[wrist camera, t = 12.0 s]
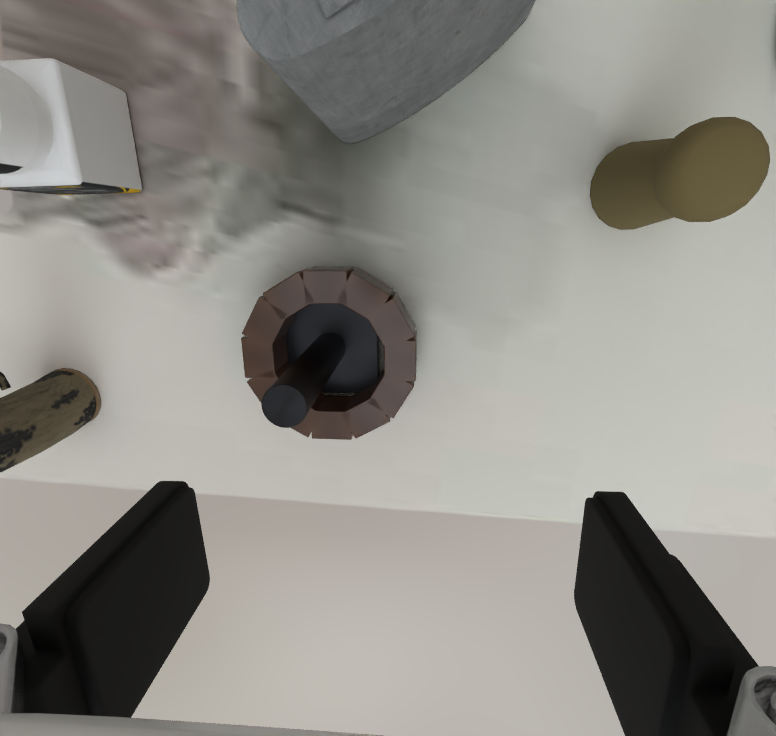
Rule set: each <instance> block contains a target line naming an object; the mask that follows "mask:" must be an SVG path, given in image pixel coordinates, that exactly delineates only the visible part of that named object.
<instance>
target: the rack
mask: <svg viewBox="0 0 776 736" xmlns="http://www.w3.org/2000/svg"><path fill="white" fill-rule="evenodd" d="M286 339H287V354H288V361H289V362H290V364H291V366H290V367H289V368H288V369H287V370H286V371H285V372H284V373H283V374H282V375H281V376H280V377H279V378H278V379H277V380H276V381H275V383H274V384H273V385H272V386H271V387H270V388H269V389H268V390H267V391H266V392H265V394H264V395H263V398H262V410H263V413H264V415H265V416H266V418H267V419H268V420H269V421H270V422H271V423H273V424H275V425H277V426H279V427H285V428H288V427H294V426H296V425H298V424H300V423H301V422H302V421H303V420H304V418H305V417H306V415H307V413H308V412H309V410H310V409H311V407H312V405H313V404H314V402H315V401H316V399H317V397H318V396H319V394H320V393H358V392H360V391H362V390H363V389H365V388H367V387H369V386H371V385H373V384H374V383H375V382H376V380H377V378H378V377H379V375H380V369H379V337H378V335H377V334H376V332H375V330H374V329H373V327H372V325H371V324H370V322H369V320H368V319H366V318H364V317H363V316H361V315H359V314H357V313H356V312H354V311H352V310H351V309H349V308H347V307H345V306H344V305H342V304H310V305H308V306H306V307H305V308H303V309H301V310H300V311H298V312H297V314H296V316H295V318H294V320H293V322H292V324H291V325H290V327H289V329H288V331H287V333H286Z"/></svg>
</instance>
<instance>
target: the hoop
mask: <svg viewBox="0 0 776 736" xmlns="http://www.w3.org/2000/svg"><path fill="white" fill-rule="evenodd" d="M392 290H393V288H391V287H390V286H388V285H386V284H385V283H383V282H381V281H380V280H378V279H376V278H374V277H373V276H371V275H369V274H368V273H366V272H364V271H363V270H361V269H359V268H358V269H356V270H354V267H317V266H315V267H312V268H308V269H305V270H302V271H299V272H297V273H295V274H293V275H292V276H290V277H289V278H287V279H285V280H284V281H282V282H280V283H279V284H277V285H276V286H274V287H272V288H271V289H269V290H267V291H266V292H264V293H263V296H261V297H259V299H258V301H257V303H256V305H255V307H254V309H253V311H252V313H251V315H250V318H249V320H248V322H247V324H246V326H245V328H244V330H243V332H242V334H244V335H245V336H244V337H242V338H241V340H242V350H243V360H244V370H245V378H250V379H249V380H248V381H247V383H248V384H249V386H250V387H251V389H252V390H253V392H254V393H255V394H256V396H257V397H258V399H259V400H260V402H261V403H262V398H263V395H264V394H265V392H266V391H267V390H268V389H269V388H270V387H271V386H272V385H273V384H274V383H275V381H276V380H277V379H278V378H279V377H280V376H281V375H282V374H283V373H284V372H285V371H286V370H287V369H288V368H289V367H290V366H291V364H290V362H289V361H288V354H287V339H286V333H287V331H288V329H289V327H290V325H291V324H292V322H293V320H294V318H295V316H296V314H297V312H298V311H300V310H301V309H303V308H305V307H306V306H308V305H310V304H342V305H344V306H345V307H347V308H349V309H351V310H352V311H354V312H356V313H357V314H359V315H361V316H363V317H364V318H366V319H368V320H369V322H370V324H371V325H372V327H373V329H374V330H375V332H376V334H377V335H378V337H379V339H380V340H381V342H382V344H383V346H384V368H383V370H382V372H381V373H380V375H379V377H378V378H377V380H376V382H375V383H374V384H373V385H371V386H369V387H367V388H365V389H363V390H362V391H360V392H358V393H356V394H354V395H352V396H341V395H324V394H323V393H320V394H319V396H318V397H317V399H316V401H315V402H314V404H313V405H312V407H311V409H310V410H309V412H308V413H307V415H306V417H305V418H304V420H303V421H302V422H301V423H300V424H298V425H296V426H294V427H290V428H292V429H294V430H296V431H297V432H299V433H301V434H303V435H305V436H307V437H309V435H310V433H311V431H312V438H317V439H349V440H351V439H352V436H353V435H354V437H355V438H358V437H360V436H362V435H364V434H366V433H368V432H370V431H372V430H374V429H376V428H378V427H380V426H382V425H384V424H386V423H388V422H390V418H391V417H392V418H394V417H395V415H396V413H397V412H398V410H399V409H400V407H401V406H402V404H403V402H404V401H405V399H406V398H407V396H408V395H409V393H410V391H411V390H412V388H413V387H414V381H415V380H416V352H417V331H416V330H415V328H416V326H415V324H414V322H413V320H412V319H411V317H410V315H409V313H408V311H407V310H406V308H405V306H404V304H403V303H402V301H401V299H400V297H399V296H398V294H397V292H395V293H393V294H391V292H392ZM390 294H391V295H390Z"/></svg>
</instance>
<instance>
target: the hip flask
mask: <svg viewBox="0 0 776 736" xmlns="http://www.w3.org/2000/svg"><path fill="white" fill-rule="evenodd" d="M534 2H535V0H237V15H238V21H239V25H240V28H241V31H242V33H243V35H244V37H245V39H246V40H247V41H248V43H249V44H250V46H251V47H252V48H253V49H254V50H255V51H256V52H257V53H258V54H259V55H260V56H261V57H262V58H263V59H264V61H265V62H266V63H267V64H268V65H269V66H270V67H271V68H272V69H273V70H274V71H275V72H276V73H277V74H278V75H279V77H280V78H281V79H282V80H283V81H284V82H285V83H286V84H287V85H288V86H289V87H290V88H291V89H292V90H293V91H294V92H295V94H296V95H297V96H298V97H299V98H300V99H301V100H302V101H303V102H304V103H305V104H306V105H307V106H308V107H309V108H310V109H311V111H312V112H313V113H314V114H315V115H316V116H317V117H318V118H319V119H320V120H321V121H322V122H323V123H324V124H325V125H326V126H327V128H328V129H329V130H330V131H331V132H332V133H333V134H334V135H335V136H336V137H337V138H338V139H339V140H341V141H342V142H345V143H349V144H352V143H357V142H360V141H362V140H365V139H367V138H369V137H372V136H374V135H376V134H378V133H380V132H382V131H384V130H386V129H388V128H390V127H392V126H394V125H395V124H397V123H399V122H401V121H403V120H404V119H406V118H408V117H409V116H411V115H413V114H415V113H416V112H418V111H419V110H421V109H422V108H424V107H425V106H427V105H428V104H430V103H431V102H433V101H434V100H436V99H437V98H438V97H440V96H441V95H443V94H444V93H445V92H447V91H448V90H450V89H451V88H452V87H454V86H455V85H456V84H458V83H459V82H460V81H461V80H463V79H464V78H465V77H467V76H468V75H469V74H470V73H471V72H473V71H474V70H475V69H476V68H477V67H478V66H480V65H481V64H482V63H483V62H484V61H485V60H486V59H488V58H489V57H490V56H491V55H492V54H493V53H494V52H495V51H496V50H497V49H498V48H499V47H500V46H501V45H502V44H503V43H504V42H505V41H506V40H507V39H508V38H509V37H510V36H511V35H512V34H513V33H514V32H515V31H516V30H517V29H518V28H519V27H520V26H521V25H522V24H523V22H524V21H525V20H526V18H527V16H528V14H529V12H530V10H531V8H532V6H533V4H534Z"/></svg>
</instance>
